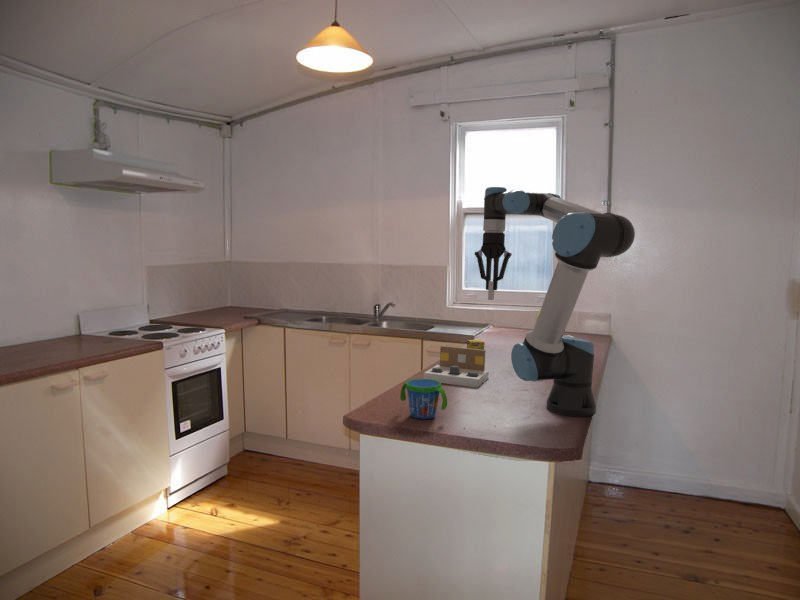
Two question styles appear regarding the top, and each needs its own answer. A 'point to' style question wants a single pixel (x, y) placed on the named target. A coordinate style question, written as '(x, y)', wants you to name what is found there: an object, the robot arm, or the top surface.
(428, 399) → the snack cup
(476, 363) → the button panel
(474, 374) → the button right
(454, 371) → the button middle
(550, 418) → the top surface
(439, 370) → the button left
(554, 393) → the robot arm
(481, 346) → the supplement box
